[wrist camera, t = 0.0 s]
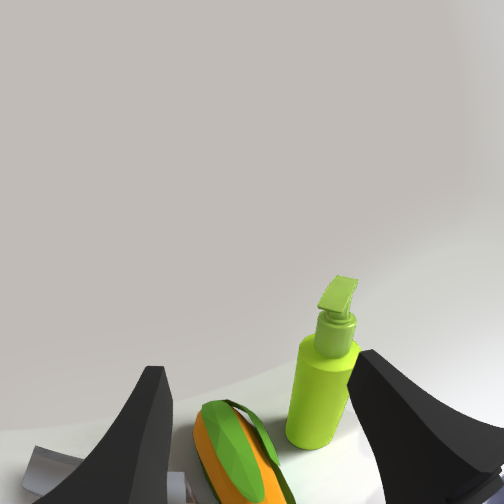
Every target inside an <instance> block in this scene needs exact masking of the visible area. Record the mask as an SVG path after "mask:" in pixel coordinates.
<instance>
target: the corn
mask: <svg viewBox="0 0 504 504" xmlns="http://www.w3.org/2000/svg"><path fill="white" fill-rule="evenodd" d="M233 407H236V408H238V409H240V410H242V411H244V412H246V413H247V414H248V415H249V417H250V418H251V420H252V421H253V423H254V424H255V426H256V427H257V429H258V431H259V433H260V435H261V436H260V435H259V433H258V431H257V429H256V428H255V427H254V426H252V425H251V424H250V423H249V422H247V420H246V419H245V418H244V417H243V416H242V415H241V414H240V413H239V412H238V411H237V410H236V409H234V408H233ZM193 437H194V441H195V445H196V449H197V452H198V455H199V458H200V462H201V465H202V468H203V471H204V474H205V477H206V479H207V481H208V483H209V485H210V487H211V489H212V491H213V493H214V495H215V497H216V499H217V501H218V502H219V504H296V502H295V499H294V496H293V494H292V492H291V490H290V488H289V486H288V484H287V482H286V480H285V478H284V476H283V474H282V472H281V470H280V469H279V467H278V465H279V466H280V463H279V460H278V456H277V454H276V451H275V449H274V447H273V444H272V442H271V440H270V438H269V436H268V434H267V432H266V430H265V427H264V425H263V423H262V421H261V420H260V419H259V418H258V417H257V416H256V415H255V414H254V413H253V412H252V411H250V410H249V409H247V408H246V407H244V406H242V405H240V404H237V403H235V402H232V401H230V400H227V399H226V400H218V401H210V402H208V403H206V404H203V405H202V409H201V411H200V412H199V413H198V414H197V418H196V422H195V426H194V430H193Z"/></svg>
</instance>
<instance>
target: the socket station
mask: <svg viewBox="0 0 504 504" xmlns="http://www.w3.org/2000/svg"><path fill="white" fill-rule="evenodd" d="M84 460H85V459H81V458H77V457H73V456H69V455H65V454H61V453H58V452H54V451H51V450H48V449H45V448H42V447H39V446H36V445H35V448H34V451H33V453H32V456H31V459H30V461H29V464H28V467H27V470H26V473H25V476H24V479H23V482H22V485H21V487H23V488H24V489H25V490H26V491H29V492H31V493H33V494H36V495H38V496H40V497H43V496H44V495H46V494H47V493H48V492H50V491H51V490H52V489H54V488H55V487H56V486H57V485H58V484H60V483H61V482H62V481H63V480H64V479H65V478H66V477H68V476H69V475H70V474H71V473H72V472H73V471H74V470H75V469H76V468H77V467H78V466H79V465H80V464H81V463H82V462H83V461H84ZM167 499H168V504H197V501H196V499H195V496H194V494H193V492H192V489H191V487H190V485H189V482H188V480H187V478H186V475H185V473H184V472H172V471H167Z"/></svg>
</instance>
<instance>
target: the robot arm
mask: <svg viewBox="0 0 504 504" xmlns="http://www.w3.org/2000/svg"><path fill="white" fill-rule="evenodd" d="M347 389H348V392H349V396H350V399H351V402H352V405H353V408H354V410H355V413H356V415H357V417H358V419H359V422H360V424H361V426H362V428H363V430H364V433H365V435H366V437H367V439H368V441H369V444H370V446H371V448H372V451H373V453H374V456H375V459H376V462H377V466H378V469H379V473H380V477H381V481H382V485H383V490H384V495H385V501H386V504H504V474H503V475H502V476H500V475H499V474H500V473H501V472H502V469H501V466H502V465H503V464H504V428H500V427H496V426H493V425H490V424H486V423H483V422H480V421H478V420H475V419H473V418H471V417H468V416H466V415H464V414H462V413H460V412H458V411H456V410H454V409H452V408H450V407H449V406H447V405H445V404H444V403H442V402H440V401H439V400H437V399H436V398H434V397H433V396H431V395H430V394H428V393H427V392H426V391H424V390H422V389H421V388H420V387H418V386H417V385H416V384H415V383H413V382H412V381H411V380H409V379H408V378H407V377H406V376H405V375H403V374H402V373H401V372H400V371H399V370H397V369H396V368H395V367H394V366H393V365H391V364H390V363H389V362H388V361H387V360H385V359H384V358H383V357H382V356H381V355H379V354H378V353H377V352H375V351H374V350H373V349H371V350H366V351H360V352H359V354H358V357H357V360H356V362H355V365H354V368H353V370H352V373H351V375H350V378H349V380H348V383H347ZM172 425H173V399H172V395H171V392H170V388H169V384H168V381H167V377H166V373H165V369H164V367H163V366H147V367H145V369H144V371H143V373H142V375H141V377H140V379H139V381H138V382H137V384H136V386H135V388H134V390H133V392H132V394H131V395H130V397H129V399H128V400H127V402H126V403H125V405H124V407H123V408H122V410H121V412H120V413H119V415H118V416H117V418H116V419H115V421H114V422H113V424H112V425H111V427H110V428H109V430H108V431H107V433H106V434H105V435H104V437H103V438H102V439H101V441H100V442H99V443H98V444H97V446H96V447H95V448H94V449H93V450H92V452H91V453H90V454H89V455H88V456H87V457H86V458H85V460H84V461H83V462H82V463H81V464H80V465H79V466H78V467H77V468H76V469H75V470H74V471H73V472H72V473H71V474H70V475H69V476H68V477H66V478H65V479H64V480H63V481H62V482H61V483H60V484H58V485H57V486H56V487H55V488H54V489H52V490H51V491H50V492H48V493H47V494H46V495H44V496H43V497H41V498H40V499H38V500H37V501H35V502H34V503H32V504H168V499H167V471H168V461H169V452H170V443H171V434H172Z"/></svg>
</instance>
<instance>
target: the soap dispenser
mask: <svg viewBox="0 0 504 504" xmlns="http://www.w3.org/2000/svg"><path fill="white" fill-rule="evenodd" d="M357 283H358V280H357V279H353V278H348V277H344V276H339V275H337V276H336V277H335V278H334V279H333V281H332V282H331V283H330V284H329V286H328V287H327V289H326V290H325V292H324V294H323V296H322V297H321V300H320V301H319V303H318V306H317V307H318V308H319V309H322V310H323V311H321V312H320V314H319V316H318V322H317V327H316V333H315V334H312V335H309V336H307V337H306V338H305V339H304V340H303V341H302V342H301V343H300V347H299V352H298V359H297V365H296V372H295V378H294V384H293V390H292V396H291V402H290V407H289V413H288V418H287V423H286V429H285V432H286V436H287V438H288V440H289V441H290V442H291V443H292V444H293V445H295V446H297V447H299V448H302V449H306V450H314V449H319V448H322V447H324V446H326V445H327V444H328V443H329V442H330V441H331V440H332V438H333V436H334V433H335V431H336V428H337V426H338V423H339V421H340V418H341V416H342V413H343V411H344V408H345V405H346V403H347V400H348V397H349V392H348V389H347V383H348V380H349V378H350V375H351V373H352V370H353V368H354V365H355V362H356V360H357V357H358V354H359V352H360V351H361V348H360V347H359V346H358V344H357V343H356V342H355V341H354V340H353V336H354V331H355V327H356V323H357V320H356V317H355V316H354V315H353V314H352V313H351V312H349V309H350V304H351V299H352V294H353V292H354V290H355V288H356V287H357Z"/></svg>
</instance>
